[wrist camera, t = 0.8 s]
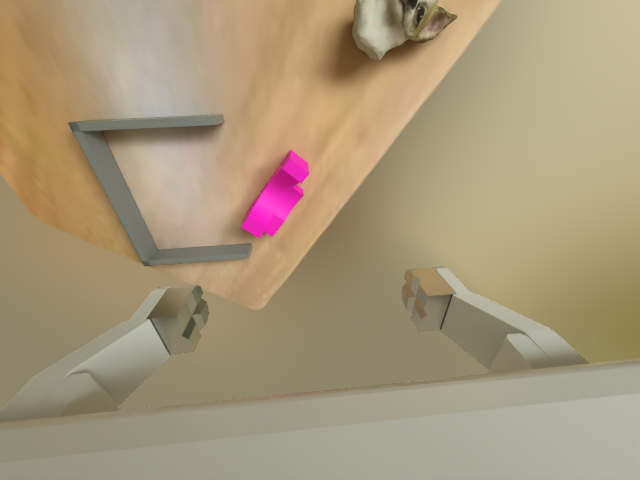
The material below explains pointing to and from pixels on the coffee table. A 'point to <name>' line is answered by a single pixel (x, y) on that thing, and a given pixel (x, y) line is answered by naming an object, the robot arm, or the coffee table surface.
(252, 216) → the magenta curved bracket
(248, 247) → the box
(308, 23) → the coffee table surface
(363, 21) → the ceramic sculpture
